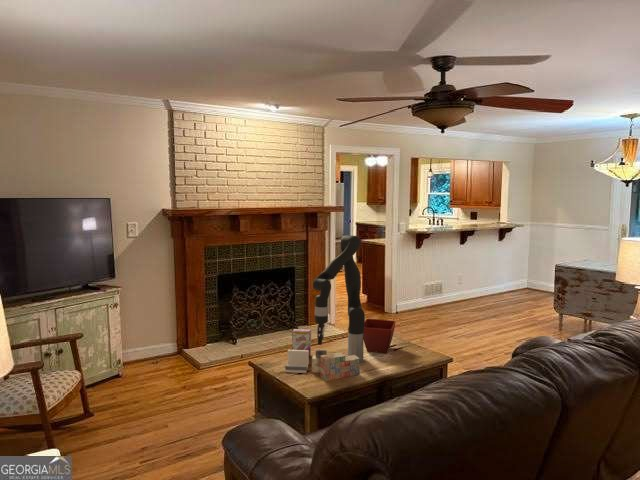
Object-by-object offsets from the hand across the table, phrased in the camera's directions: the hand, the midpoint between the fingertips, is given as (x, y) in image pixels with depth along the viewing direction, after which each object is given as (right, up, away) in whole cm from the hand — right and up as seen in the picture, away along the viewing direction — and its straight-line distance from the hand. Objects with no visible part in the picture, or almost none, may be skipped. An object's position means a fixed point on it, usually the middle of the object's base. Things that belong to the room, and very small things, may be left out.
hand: (320, 341), depth 260 cm
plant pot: (+37, -13, +36) cm, 53 cm away
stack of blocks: (+11, -18, -5) cm, 21 cm away
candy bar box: (-12, -14, +24) cm, 30 cm away
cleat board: (-14, -16, +5) cm, 22 cm away
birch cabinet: (0, -17, +2) cm, 17 cm away
